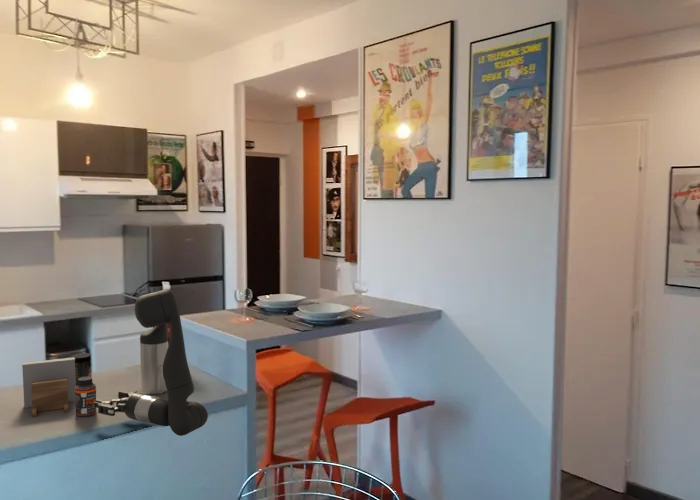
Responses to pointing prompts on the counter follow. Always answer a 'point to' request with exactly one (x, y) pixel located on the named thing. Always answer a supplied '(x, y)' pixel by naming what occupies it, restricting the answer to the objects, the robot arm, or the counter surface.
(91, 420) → the counter surface
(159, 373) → the robot arm
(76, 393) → the supplement bottle
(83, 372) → the supplement container
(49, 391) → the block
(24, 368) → the panel
